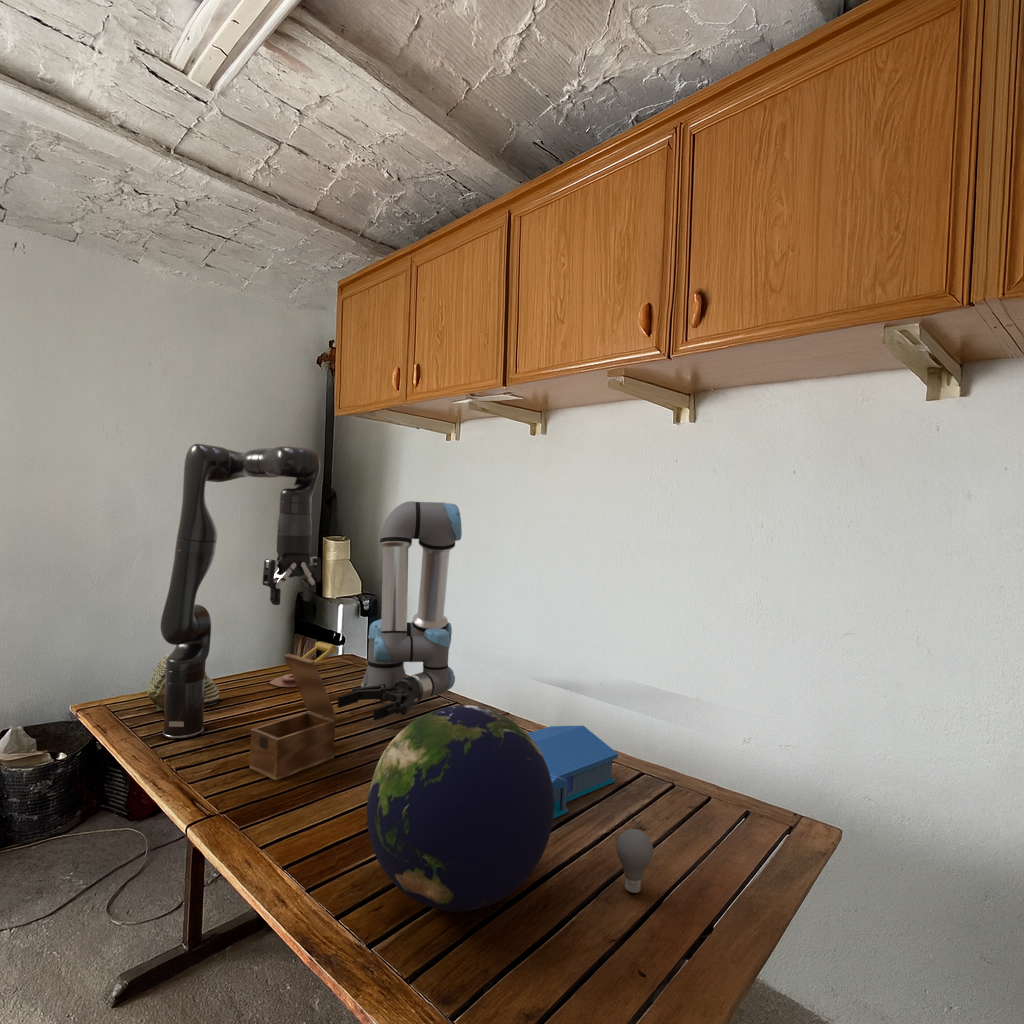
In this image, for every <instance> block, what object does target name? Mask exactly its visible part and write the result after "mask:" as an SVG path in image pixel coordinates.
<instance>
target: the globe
mask: <svg viewBox="0 0 1024 1024" xmlns="http://www.w3.org/2000/svg"><path fill="white" fill-rule="evenodd" d="M527 733H528V732H526V731H525V730H524V729H523V728H522V727H521V726H520V725H518V723H516V722H514V721H513V720H512V719H510V718H508V717H507V716H505V715H503V714H501V713H499V712H497V711H494V710H493V709H489V708H485V707H482V706H477V705H469V704H468V705H467V704H465V705H452V706H446V707H442V708H438V709H435V710H432V711H429V712H428V713H425V714H423V715H422V716H419V717H417V718H416V719H415V720H413V721H411V722H409V724H407V725H406V726H405V727H404V728H402V729H401V731H399V733H398V734H396V736H395V737H394V738H393V739H392V740H391V741H390V742H389V743H388V745H387V747H385V749H384V751H382V754H381V755H380V758H379V760H378V762H377V763H376V766H375V769H374V771H373V774H372V777H371V780H370V783H369V787H368V788H369V789H368V794H367V801H366V822H367V832H368V836H369V840H370V844H371V847H372V851H373V853H374V855H375V857H376V859H377V861H378V864H379V865H380V867H381V869H382V870H383V872H384V873H385V875H386V876H387V877H388V878H389V880H390V881H391V883H393V884H394V885H395V886H396V887H397V888H398V890H400V891H401V892H402V893H404V894H405V895H406V896H408V897H409V898H410V899H412V900H413V901H415V902H417V903H419V904H421V905H424V906H426V907H428V908H429V907H430V908H431V909H436V910H439V911H445V912H455V913H456V912H471V911H475V910H479V909H483V908H486V907H489V906H491V905H494V904H496V903H499V902H500V901H502V900H503V899H505V898H506V897H508V896H509V895H511V894H512V893H514V892H515V891H516V890H517V889H518V888H519V887H520V886H522V885H523V884H524V882H526V880H527V879H528V878H529V877H530V875H532V873H533V871H534V870H535V869H536V867H537V866H538V864H539V863H540V860H541V859H542V857H543V855H544V853H545V850H546V848H547V846H548V843H549V841H550V837H551V833H552V827H553V823H554V819H553V816H554V794H553V786H552V782H551V777H550V774H549V770H548V767H547V765H546V763H545V760H544V757H543V755H542V753H541V752H540V750H539V748H538V747H537V745H536V744H535V742H534V741H533V740H532V739H531V737H530V736H529V735H528V734H527Z"/></svg>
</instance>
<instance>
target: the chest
mask: <svg viewBox="0 0 1024 1024" xmlns="http://www.w3.org/2000/svg"><path fill="white" fill-rule="evenodd" d="M335 735H336V720H335V719H334V720H333V719H330V718H327V717H325V716H322V715H319V714H316V713H313V712H310V711H306V712H303V713H299V714H297V715H293V716H290V717H286V718H284V719H280V720H276V721H273V722H270V723H267V724H263V725H259V726H257V727H253V728H251V729H250V747H249V750H250V752H249V769H251V770H253V771H255V772H256V773H259V774H261V775H263V776H265V777H268V778H270V779H272V780H274V781H279V780H281V779H284V778H286V777H289V776H292V775H294V774H296V773H299V772H302V771H304V770H305V771H306V770H307V769H309V768H312V767H315V766H317V765H320V764H322V763H325V762H328V761H330V760H332V759H334V758H335V743H336V742H335V740H336V737H335Z"/></svg>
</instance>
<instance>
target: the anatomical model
mask: <svg viewBox="0 0 1024 1024" xmlns="http://www.w3.org/2000/svg"><path fill="white" fill-rule="evenodd" d="M269 684H270V685H272V686H275V687H279V688H295V687H296V688H298V687H297V685H296V682H295V680H294V677H293V675H292V673H289V674H285V675H282V676H279V677H277V678H274V679H272V680H269Z"/></svg>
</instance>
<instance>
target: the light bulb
mask: <svg viewBox="0 0 1024 1024" xmlns="http://www.w3.org/2000/svg"><path fill="white" fill-rule="evenodd" d="M615 849H616V854H617V857H618V859H619V861H620V863H621V865H622V867H623V873H624V874H623V875H624V876H625V878H624V888H625V890H627V891H628V892H630V893H634V894H635V893H639V892H640V891H641V889H642V887H641V886H642V879H643V877H644V875H645V871H646V868H647V867H648V866H649V864H650V863H651V861H652V859H653V855H654V847H653V843H652V841H651V838H649V836H648V835H647V834H646V833H645V832H643V831H642V830H641V829H636V828H629V829H627V830H625V831H623V832H622V833H621V834H620V835H619V837H618V839H617V841H616V847H615Z"/></svg>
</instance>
